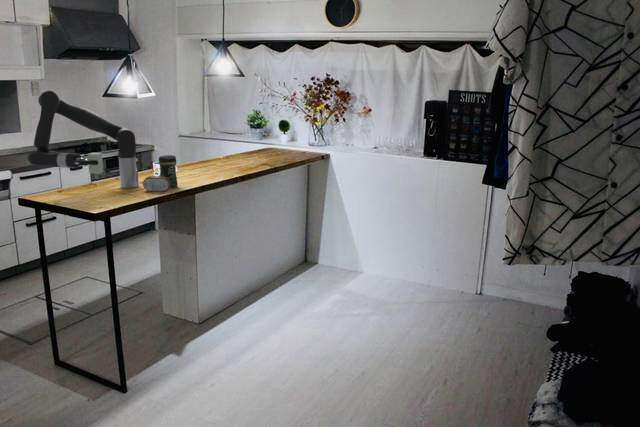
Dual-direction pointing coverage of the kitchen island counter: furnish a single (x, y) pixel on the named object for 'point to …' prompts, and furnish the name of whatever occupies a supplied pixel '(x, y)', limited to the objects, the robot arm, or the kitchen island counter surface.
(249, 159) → the kitchen island counter surface
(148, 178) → the tin
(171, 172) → the coffee jar
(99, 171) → the sage block
